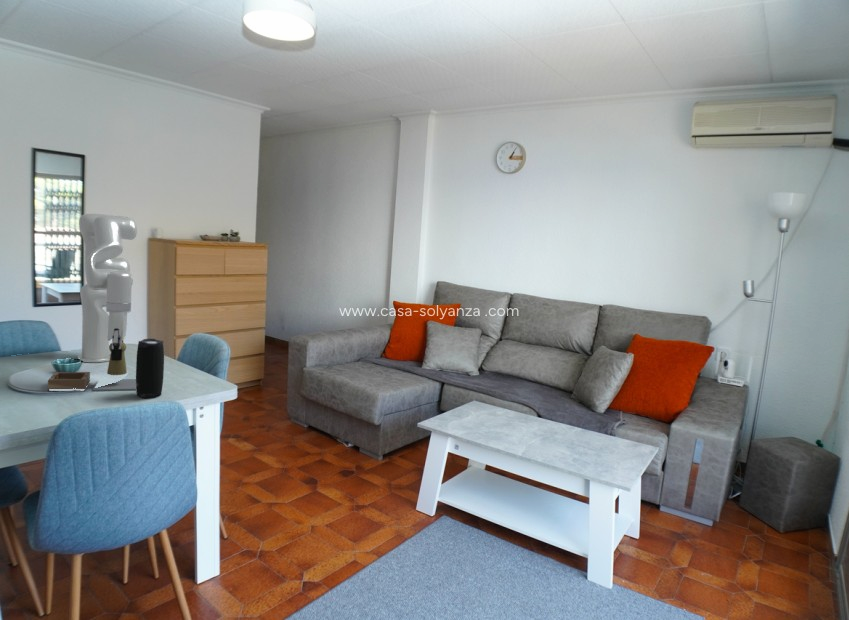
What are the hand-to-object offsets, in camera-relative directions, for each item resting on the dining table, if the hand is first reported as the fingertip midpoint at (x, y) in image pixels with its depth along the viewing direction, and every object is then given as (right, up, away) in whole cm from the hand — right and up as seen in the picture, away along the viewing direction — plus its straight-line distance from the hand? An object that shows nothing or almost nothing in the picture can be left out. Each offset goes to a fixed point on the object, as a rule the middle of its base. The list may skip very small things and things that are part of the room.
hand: (117, 357), depth 190 cm
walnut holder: (-13, -10, -5) cm, 17 cm away
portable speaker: (+14, -12, -6) cm, 20 cm away
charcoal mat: (-1, -10, +1) cm, 10 cm away
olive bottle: (0, -6, +1) cm, 6 cm away
